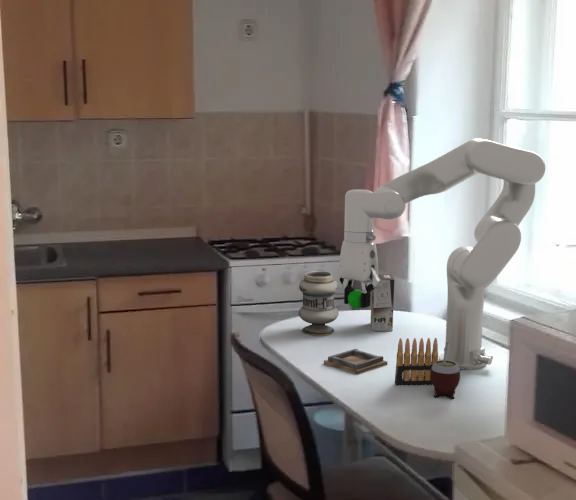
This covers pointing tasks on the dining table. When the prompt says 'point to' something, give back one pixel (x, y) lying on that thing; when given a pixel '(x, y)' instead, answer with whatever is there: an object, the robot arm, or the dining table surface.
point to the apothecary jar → (318, 302)
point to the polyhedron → (355, 299)
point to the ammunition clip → (415, 363)
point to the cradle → (355, 361)
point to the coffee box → (383, 304)
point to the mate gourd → (445, 377)
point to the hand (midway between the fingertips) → (357, 304)
